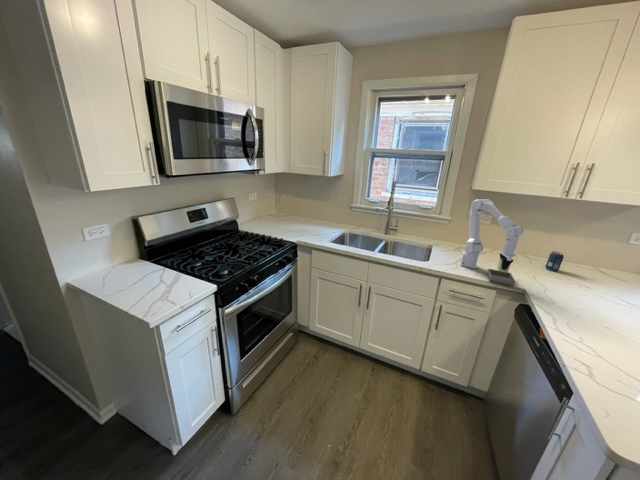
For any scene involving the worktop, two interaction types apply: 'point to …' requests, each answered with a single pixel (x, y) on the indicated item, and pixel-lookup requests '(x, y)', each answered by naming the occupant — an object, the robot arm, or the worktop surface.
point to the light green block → (501, 267)
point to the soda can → (554, 261)
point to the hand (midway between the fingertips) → (503, 267)
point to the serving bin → (500, 277)
